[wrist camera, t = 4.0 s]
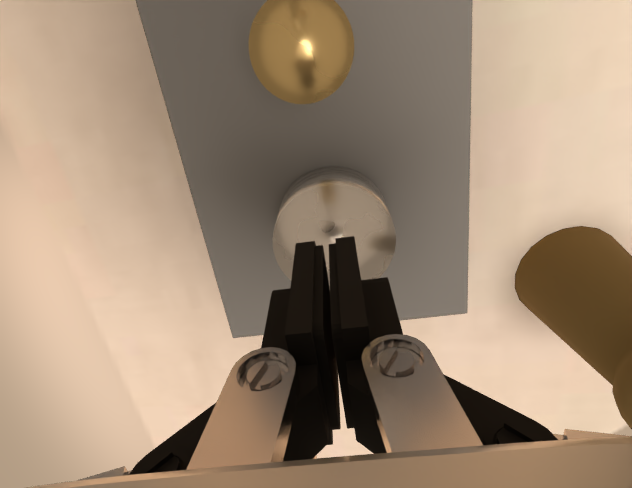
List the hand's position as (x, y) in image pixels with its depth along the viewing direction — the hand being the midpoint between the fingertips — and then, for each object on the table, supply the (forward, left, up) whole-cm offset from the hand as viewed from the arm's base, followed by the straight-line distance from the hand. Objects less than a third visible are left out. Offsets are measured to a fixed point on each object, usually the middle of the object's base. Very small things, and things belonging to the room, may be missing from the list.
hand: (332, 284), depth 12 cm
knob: (+1, 0, -11) cm, 11 cm away
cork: (+8, +13, -11) cm, 19 cm away
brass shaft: (-6, 0, -7) cm, 9 cm away
